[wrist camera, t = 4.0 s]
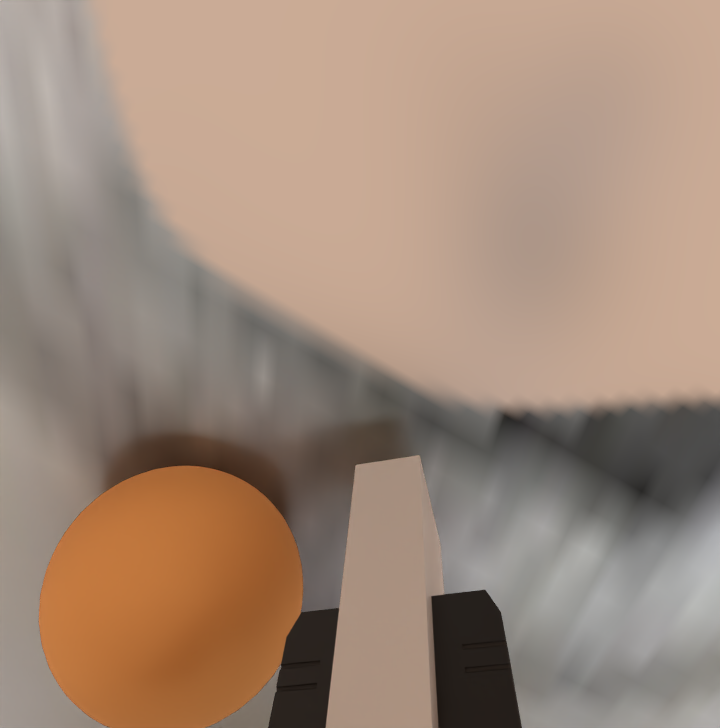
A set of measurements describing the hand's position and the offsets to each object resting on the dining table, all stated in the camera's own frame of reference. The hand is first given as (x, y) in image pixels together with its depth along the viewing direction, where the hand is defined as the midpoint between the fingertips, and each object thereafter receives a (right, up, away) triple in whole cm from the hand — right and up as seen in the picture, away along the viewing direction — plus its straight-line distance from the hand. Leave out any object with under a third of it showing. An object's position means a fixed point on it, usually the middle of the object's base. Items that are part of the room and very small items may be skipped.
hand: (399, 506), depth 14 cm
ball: (-5, -2, 0) cm, 6 cm away
